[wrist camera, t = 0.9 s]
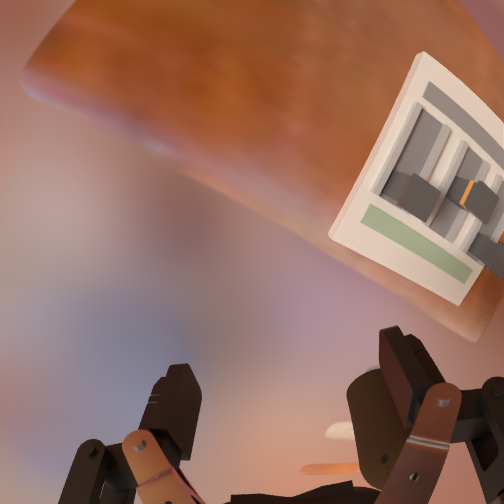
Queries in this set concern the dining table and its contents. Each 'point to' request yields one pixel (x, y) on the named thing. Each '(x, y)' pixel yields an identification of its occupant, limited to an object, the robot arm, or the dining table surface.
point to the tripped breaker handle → (473, 198)
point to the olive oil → (376, 427)
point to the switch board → (375, 161)
